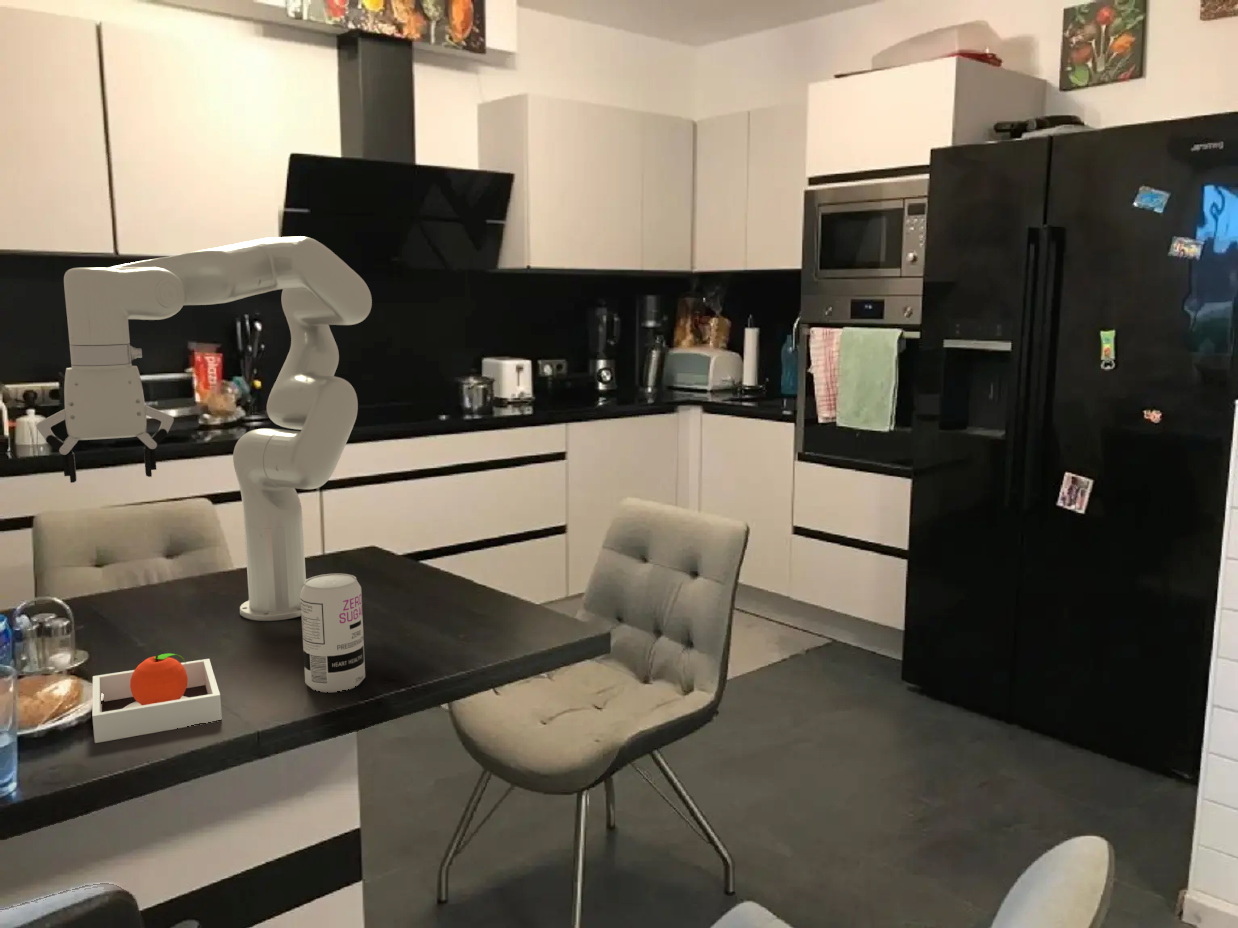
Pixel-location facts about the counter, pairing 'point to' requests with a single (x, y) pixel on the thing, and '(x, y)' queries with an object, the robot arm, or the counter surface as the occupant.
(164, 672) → the clementine
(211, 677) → the hollow rectangular sleeve
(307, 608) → the supplement can
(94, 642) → the counter surface
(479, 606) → the counter surface
